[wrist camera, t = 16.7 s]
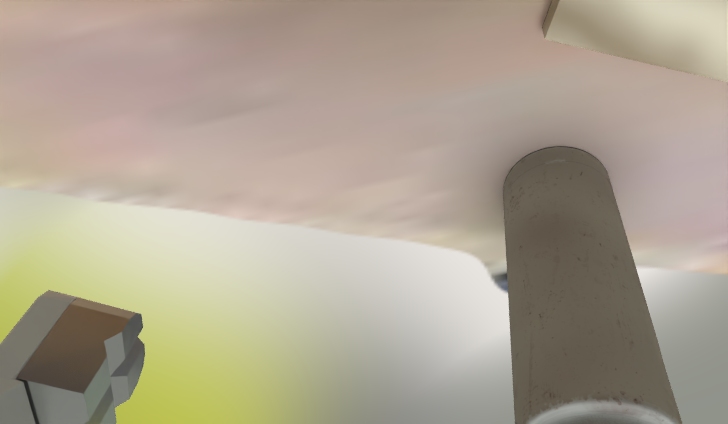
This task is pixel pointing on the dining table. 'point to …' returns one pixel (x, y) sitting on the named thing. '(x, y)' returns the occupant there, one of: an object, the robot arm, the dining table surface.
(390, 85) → the dining table surface
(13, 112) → the dining table surface
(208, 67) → the dining table surface
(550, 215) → the thermos bottle
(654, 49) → the board
